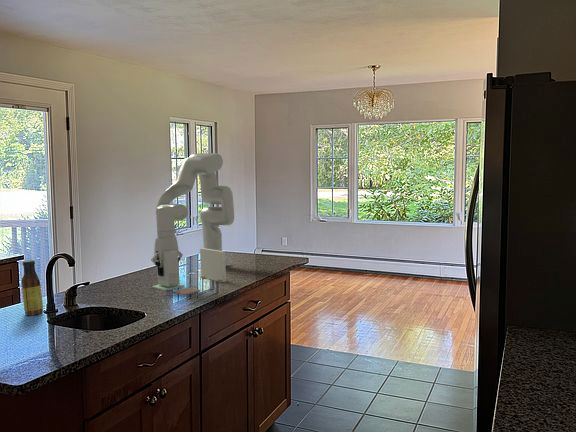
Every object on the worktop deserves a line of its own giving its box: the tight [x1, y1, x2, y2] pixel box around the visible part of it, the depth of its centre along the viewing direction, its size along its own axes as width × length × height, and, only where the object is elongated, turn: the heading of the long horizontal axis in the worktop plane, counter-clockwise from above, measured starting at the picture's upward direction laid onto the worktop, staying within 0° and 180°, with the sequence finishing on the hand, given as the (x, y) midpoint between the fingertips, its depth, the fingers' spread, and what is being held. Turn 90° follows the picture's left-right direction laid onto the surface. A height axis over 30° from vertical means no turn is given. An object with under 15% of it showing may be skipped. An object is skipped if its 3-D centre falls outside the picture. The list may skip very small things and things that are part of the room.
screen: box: [199, 247, 228, 283], centre depth 245 cm, size 4×16×14 cm, turn 48°
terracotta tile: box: [172, 287, 200, 296], centre depth 223 cm, size 8×8×1 cm
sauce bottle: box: [21, 259, 44, 316], centre depth 195 cm, size 6×6×20 cm
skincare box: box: [156, 249, 181, 287], centre depth 233 cm, size 8×7×16 cm
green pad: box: [151, 283, 185, 292], centre depth 234 cm, size 10×10×1 cm
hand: (168, 274), depth 233 cm, fingers open, 6 cm apart
